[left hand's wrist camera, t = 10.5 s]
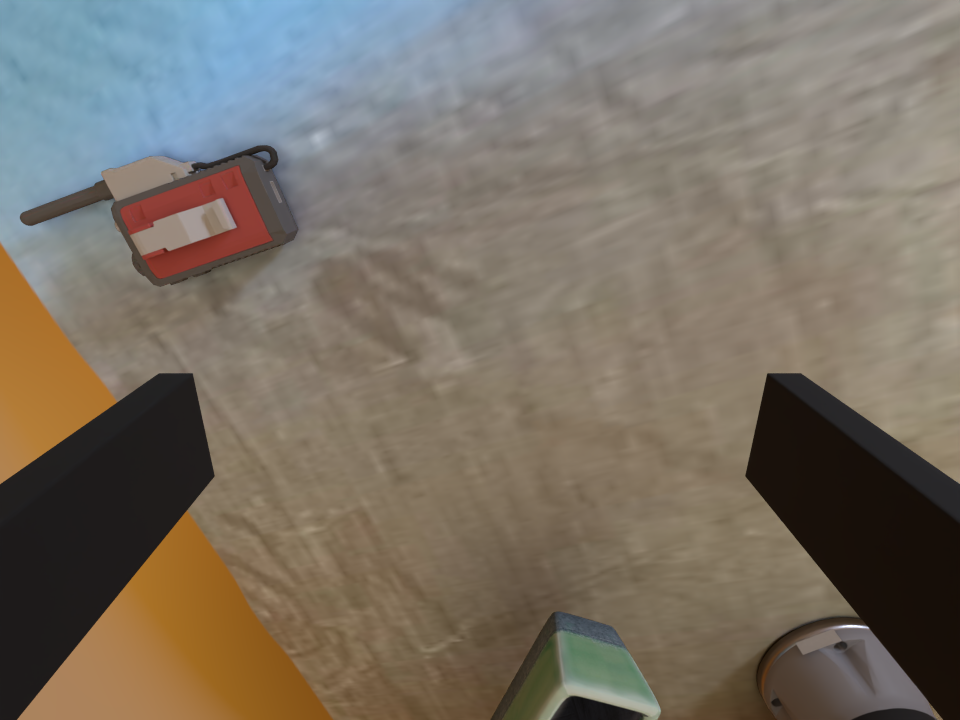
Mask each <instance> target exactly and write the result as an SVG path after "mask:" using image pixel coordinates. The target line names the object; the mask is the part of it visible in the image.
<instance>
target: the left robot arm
mask: <svg viewBox="0 0 960 720" xmlns="http://www.w3.org/2000/svg"><path fill="white" fill-rule="evenodd" d="M213 478H214V471H213V466H212V462H211V457H210V452H209V448H208V443H207V438H206V434H205V429H204V424H203V420H202V415H201V410H200V406H199V401H198V396H197V392H196V387H195V382H194V378H193V373H159V374H158V375H156V376H155V377H153V378H152V379H150V380H149V381H148V382H146V383H145V384H143V385H142V386H140V387H139V388H137V389H136V390H135V391H133V392H132V393H130V394H129V395H127V396H126V397H125V398H123V399H122V400H120V401H119V402H117V403H116V404H115V405H113V406H112V407H110V408H109V409H108V410H106V411H105V412H103V413H102V414H100V415H99V416H97V417H96V418H95V419H93V420H92V421H90V422H89V423H87V424H86V425H85V426H83V427H82V428H80V429H79V430H77V431H76V432H74V433H73V434H72V435H70V436H69V437H67V438H66V439H64V440H63V441H62V442H60V443H59V444H57V445H56V446H54V447H53V448H52V449H50V450H49V451H47V452H46V453H44V454H43V455H42V456H40V457H39V458H37V459H36V460H34V461H33V462H31V463H30V464H29V465H27V466H26V467H24V468H23V469H21V470H20V471H19V472H17V473H16V474H14V475H13V476H11V477H10V478H9V479H7V480H6V481H4V482H3V483H1V484H0V720H17V719H18V718H19V716H20V715H21V714H22V713H23V711H24V710H25V709H26V708H27V706H28V705H29V704H30V703H31V702H32V700H33V699H34V698H35V697H36V695H37V694H38V693H39V692H40V690H41V689H42V688H43V687H44V686H45V684H46V683H47V682H48V681H49V679H50V678H51V677H52V676H53V674H54V673H55V672H56V671H57V670H58V668H59V667H60V666H61V665H62V663H63V662H64V661H65V660H66V658H67V657H68V656H69V655H70V654H71V652H72V651H73V650H74V649H75V647H76V646H77V645H78V644H79V642H80V641H81V640H82V639H83V638H84V636H85V635H86V634H87V633H88V631H89V630H90V629H91V628H92V626H93V625H94V624H95V623H96V621H97V620H98V619H99V618H100V617H101V615H102V614H103V613H104V612H105V610H106V609H107V608H108V607H109V606H110V604H111V603H112V602H113V601H114V599H115V598H116V597H117V596H118V594H119V593H120V592H121V591H122V590H123V588H124V587H125V586H126V585H127V583H128V582H129V581H130V580H131V578H132V577H133V576H134V575H135V573H136V572H137V571H138V570H139V569H140V567H141V566H142V565H143V564H144V562H145V561H146V560H147V559H148V557H149V556H150V555H151V554H152V553H153V551H154V550H155V549H156V548H157V546H158V545H159V544H160V543H161V542H162V540H163V539H164V538H165V537H166V535H167V534H168V533H169V532H170V530H171V529H172V528H173V527H174V525H175V524H176V523H177V522H178V520H179V519H180V518H181V517H182V516H183V514H184V513H185V512H186V511H187V510H188V508H189V507H190V506H191V505H192V503H193V502H194V501H195V500H196V498H197V497H198V496H199V495H200V494H201V492H202V491H203V490H204V489H205V487H206V486H207V485H208V484H209V482H210V481H211V480H212V479H213ZM746 478H747V479H748V480H749V481H750V482H751V484H752V485H753V486H754V487H755V489H756V490H757V491H758V492H759V494H760V495H761V496H762V497H763V498H764V500H765V501H766V502H767V503H768V505H769V506H770V507H771V508H772V510H773V511H774V512H775V513H776V514H777V516H778V517H779V518H780V519H781V521H782V522H783V523H784V524H785V526H786V527H787V528H788V529H789V530H790V532H791V533H792V534H793V535H794V537H795V538H796V539H797V540H798V542H799V543H800V544H801V545H802V546H803V548H804V549H805V550H806V551H807V553H808V554H809V555H810V556H811V558H812V559H813V560H814V561H815V562H816V564H817V565H818V566H819V567H820V569H821V570H822V571H823V572H824V574H825V575H826V576H827V577H828V578H829V580H830V581H831V582H832V583H833V585H834V586H835V587H836V588H837V590H838V591H839V592H840V593H841V594H842V596H843V597H844V598H845V599H846V601H847V602H848V603H849V604H850V606H851V607H852V608H853V609H854V610H855V612H856V613H857V614H858V615H859V617H860V618H861V619H862V620H863V622H864V623H865V624H866V625H867V626H868V628H869V629H870V630H871V631H872V633H873V634H874V635H875V636H876V638H877V639H878V640H879V641H880V642H881V644H882V645H883V646H884V647H885V649H886V650H887V651H888V652H889V654H890V655H891V656H892V657H893V658H894V660H895V661H896V662H897V663H898V665H899V666H900V667H901V668H902V670H903V671H904V672H905V673H906V674H907V676H908V677H909V678H910V679H911V681H912V682H913V683H914V684H915V686H916V687H917V688H918V689H919V690H920V692H921V693H922V694H923V695H924V697H925V698H926V699H927V700H928V702H929V703H930V704H931V705H932V706H933V708H934V709H935V710H936V711H937V713H938V714H939V715H940V716H941V718H942V719H943V720H960V484H959V483H957V482H956V481H954V480H953V479H951V478H950V477H949V476H947V475H946V474H944V473H943V472H941V471H940V470H939V469H937V468H936V467H934V466H933V465H931V464H930V463H929V462H927V461H926V460H924V459H923V458H921V457H920V456H918V455H917V454H916V453H914V452H913V451H911V450H910V449H908V448H907V447H906V446H904V445H903V444H901V443H900V442H898V441H897V440H896V439H894V438H893V437H891V436H890V435H888V434H887V433H886V432H884V431H883V430H881V429H880V428H878V427H877V426H876V425H874V424H873V423H871V422H870V421H868V420H867V419H865V418H864V417H863V416H861V415H860V414H858V413H857V412H855V411H854V410H853V409H851V408H850V407H848V406H847V405H845V404H844V403H843V402H841V401H840V400H838V399H837V398H835V397H834V396H833V395H831V394H830V393H828V392H827V391H825V390H824V389H823V388H821V387H820V386H818V385H817V384H815V383H814V382H812V381H811V380H810V379H808V378H807V377H805V376H804V375H802V374H801V373H767V378H766V382H765V387H764V392H763V396H762V401H761V406H760V410H759V415H758V420H757V424H756V429H755V434H754V438H753V443H752V448H751V452H750V457H749V462H748V466H747V471H746Z"/></svg>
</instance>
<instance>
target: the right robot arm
mask: <svg viewBox="0 0 960 720" xmlns="http://www.w3.org/2000/svg"><path fill="white" fill-rule="evenodd" d="M757 684H758V689H759V691H760V693H761V695H762V697H763V699H764V701H765V703H766V705H767V707H768V708H769V710H770V711H771V712H772V714H773V715H774V717H775V718H776V719H777V720H937V719H936V718H935V716H934V714H933V712H932V710H931V708H930V705H929V703H928V701H927V699H926V698H925V697H924V695H923V694H922V693H921V692H920V690H919V689H918V688H917V687H916V686H915V684H914V683H913V682H912V681H911V679H910V678H909V677H908V676H907V674H906V673H905V672H904V671H903V670H902V668H901V667H900V666H899V665H898V663H897V662H896V661H895V660H894V658H893V657H892V656H891V655H890V654H889V652H888V651H887V650H886V649H885V647H884V646H883V645H882V644H881V642H880V641H879V640H878V639H877V638H876V636H875V635H874V634H873V633H872V631H871V630H870V629H869V628H868V626H867V625H866V624H865V623H864V622H863V620H862V619H857V618H832V619H825V620H821V621H817V622H814V623H810V624H808V625H805V626H803V627H800V628H798V629H796V630H794V631H792V632H791V633H789V634H787V635H786V636H784V637H783V638H782V639H780V640H779V641H778V642H777V643H776V644H774V645H773V646H772V647H771V648H770V650H769V651H768V652H767V653H766V655H765V656H764V658H763V660H762V661H761V663H760V666H759V669H758V673H757Z"/></svg>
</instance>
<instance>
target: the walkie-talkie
mask: <svg viewBox="0 0 960 720" xmlns="http://www.w3.org/2000/svg"><path fill="white" fill-rule="evenodd" d="M262 151H267V152H268V153H269V154H270V157H271V160H270V162H268V161H267V160H265V159H263V158H261V157H259V156H257V155H253V154H256V153H258V152H262ZM277 163H278V156H277V152H276V151H275V149H274V148H272V147H271V146H267V145H262V146H256V147H253V148H250V149H248V150H245V151H242V152H240V153H237V154H234V155H231V156H229V157H226V158H223V159H220V160H217V161H214V162H211V163H208V164H206V163H196V161H190V162H185V163H182V162H179V161H176V160H174V159H171V158H168V157H164V156H149V157H147V158H144V159H141V160H138V161H136V162H133V163H130V164H128V165H125V166H122V167H119V168H110V169H107V170H105V171H102V172H101V175H102V177H103V178H104V180H103V181H100V182H97V183H95V185H94V186H93V187H90V188H87V189H84V190H82V191H79V192H76V193H74V194H71V195H68V196H66V197H63V198H60V199H58V200H55V201H52V202H50V203H47V204H44V205H42V206H39V207H36V208H33V209H31V210H28V211H25V212H23V213H22V214H21V215H20V219H21V221H22V223H24V224H25V225H28V226H32V225H35V224H38V223H41V222H43V221H46V220H49V219H52V218H54V217H57V216H60V215H63V214H65V213H68V212H71V211H74V210H76V209H79V208H82V207H85V206H87V205H90V204H93V203H95V202H98V201H101V200H109V199H112V198H115V200H116V202H114V203H113V205H112V208H111V211H112V215H113V218H114V220H115V227H116V229H117V230H118V231H119V232H121V233H122V234H123V236H124V238H125V240H126V242H127V243H128V245H129V247H130V249H131V251H132V252H133V254H132V262H133V265H134V267H135V269H136V270H137V271H138V272H139V273H140V274H142V275H143V276H146V277H147V278H148V279H149V280H150V282H151V283H152V284H153V285H157V286H160V287H161V286H164V285H166V284H169V283H170V284H171V285H173V284H176V283H179V282H182V281H184V280H186V279H188V277H190V276H194V277H197V276H200V275H203V274H206V273H208V272H210V271H211V269H213V268H215V267H219V266H221V265H225V264H227V263H231V262H233V261H237V260H239V259H241V258H242V259H243V258H245V257H247V256H251V255H253V254H257V253H259V252H263V251H266V250H268V249H272V248H274V247H278V246H280V245H284V244H286V243H288V242H290V241H292V240H294V238H295V235H296V233H297V230H298V228H297V226H296V223H295V221H294V219H293V217H292V214H291V212H290V210H289V208H288V205H287V203H286V201H285V198H284V196H283V194H282V192H281V189H280V187H279V185H278V182H277V180H276V178H275V176H274V173H273V171H272V168H274V167H275V166H276V165H277ZM199 168H201V169H207V170H202V171H200V173H199V172H198V171H199V170H200V169H199Z"/></svg>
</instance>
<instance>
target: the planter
mask: <svg viewBox="0 0 960 720" xmlns="http://www.w3.org/2000/svg"><path fill="white" fill-rule="evenodd" d="M660 713H661V710H660V707H659V704H658V702H657V700H656V698H655V696H654V694H653V692H652V691H651V689H650V687H649V685H648V684H647V682H646V680H645V678H644V677H643V675H642V673H641V672H640V670H639V668H638V667H637V665H636V663H635V662H634V660H633V658H632V657H631V655H630V653H629V652H628V650H627V648H626V647H625V645H624V643H623V642H622V640H621V639H620V637H619V635H618V634H617V632H616V631H615V630H614V628H613V627H611V626H609V625H605V624H602V623H599V622H595V621H592V620H589V619H585V618H582V617H578V616H575V615H571V614H567V613H564V612H554V613H553V614H552V615H551V616H550V617H549V619H548V620H547V622H546V624H545V625H544V627H543V629H542V630H541V632H540V634H539V635H538V637H537V639H536V641H535V642H534V644H533V646H532V648H531V649H530V651H529V653H528V655H527V656H526V658H525V660H524V662H523V663H522V665H521V667H520V669H519V670H518V672H517V674H516V676H515V678H514V679H513V681H512V683H511V685H510V686H509V688H508V690H507V692H506V693H505V695H504V697H503V699H502V700H501V702H500V704H499V706H498V707H497V709H496V711H495V713H494V715H493V716H492V718H491V720H657V719H658V717H659V715H660Z"/></svg>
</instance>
